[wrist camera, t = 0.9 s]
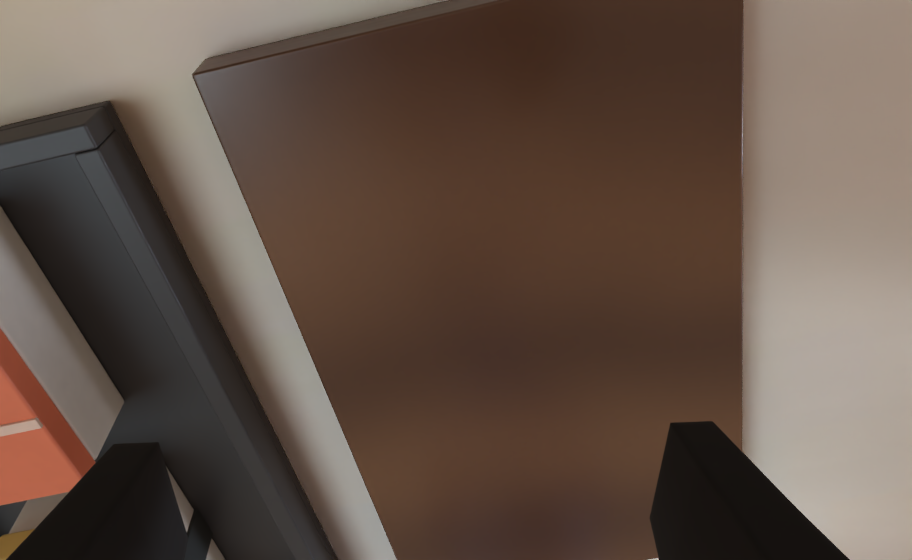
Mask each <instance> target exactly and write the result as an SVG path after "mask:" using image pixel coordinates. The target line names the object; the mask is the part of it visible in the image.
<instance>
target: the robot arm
mask: <svg viewBox="0 0 912 560" xmlns="http://www.w3.org/2000/svg"><path fill="white" fill-rule="evenodd" d="M650 522H651V527H652V531H653V535H654V540H655V544H656V549H657V553H658V557H659V560H849V559H848V558H847V557H846V556H845V555H844V554H843V553H842V552H841V551H840V550H839V549H838V548H837V547H836V546H835V545H834V544H833V543H832V542H831V541H830V540H829V539H828V538H827V537H826V536H825V535H824V534H823V533H822V532H821V531H820V530H818V529H817V528H816V527H815V526H814V525H813V524H812V523H811V522H810V521H809V520H808V519H807V518H806V517H805V516H804V515H803V514H802V513H801V512H800V511H799V510H798V509H797V508H796V507H795V506H794V505H793V504H792V503H791V502H790V501H789V500H788V499H787V498H786V497H785V496H784V495H783V494H782V493H781V492H780V491H779V489H778V488H777V487H776V486H775V485H774V484H773V483H772V482H771V481H770V480H769V479H768V478H767V477H766V476H765V475H764V474H763V473H762V472H761V471H760V470H759V469H758V468H757V467H756V466H755V465H754V464H753V463H752V462H751V460H750V459H749V458H748V457H747V456H746V455H745V454H744V453H743V452H742V451H741V450H740V449H739V448H738V447H737V446H736V445H735V444H734V443H733V442H732V441H731V440H730V439H729V438H728V436H727V435H726V434H725V433H724V432H723V431H722V430H721V429H720V428H719V427H718V426H717V425H716V424H715V423H714V422H713V421H700V422H674V423H670V427H669V431H668V436H667V440H666V445H665V449H664V454H663V459H662V463H661V468H660V472H659V477H658V481H657V486H656V490H655V495H654V499H653V504H652V509H651V513H650ZM187 543H188V535H187V532H186V529H185V526H184V523H183V519H182V516H181V513H180V510H179V506H178V503H177V500H176V497H175V494H174V490H173V487H172V484H171V481H170V478H169V474H168V471H167V468H166V465H165V461H164V458H163V455H162V452H161V449H160V445H159V442H149V443H122V444H113V445H112V446H111V447H110V448H109V449H108V450H107V451H106V452H105V454H104V455H103V456H102V457H101V458H100V459H99V460H98V461H97V462H96V463H95V464H94V465H93V466H92V467H91V468H90V470H89V471H88V472H87V473H86V474H85V475H84V476H83V477H82V478H81V479H80V480H79V482H78V483H77V484H76V485H75V486H74V487H73V488H72V489H71V490H70V491H69V492H68V494H67V495H66V496H65V497H64V498H63V499H62V500H61V501H60V502H59V503H58V504H57V506H56V507H55V508H54V509H53V510H52V511H51V512H50V513H49V514H48V515H47V516H46V517H45V519H44V520H43V521H42V522H41V523H40V524H39V525H38V526H37V527H36V528H35V529H34V530H33V532H32V533H31V534H30V535H29V536H28V537H27V538H26V539H25V540H24V541H23V542H22V543H21V544H20V545H19V546H18V547H17V548H16V549H15V550H14V551H13V552H12V554H11V555H10V556H9V557H8V558H7V559H6V560H184V558H185V553H186V548H187Z"/></svg>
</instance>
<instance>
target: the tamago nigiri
mask: <svg viewBox="0 0 912 560" xmlns="http://www.w3.org/2000/svg"><path fill="white" fill-rule="evenodd" d="M166 468H167V467H166ZM167 471H168V474H169V478H170V481H171V484H172V487H173V490H174V494H175V497H176V500H177V503H178V506H179V510H180V513H181V516H182V519H183V523H184V526H185V529H186V532H187V535H188V543H187V548H186V553H185V558H184V560H225V558H224V557H223V555H222V553H221V552H220V550H219V549H218V547H217V546H216V544H215V542H214V541H213V539H212V536H213V534H212V532H211V530H210V529H209V527H208V526H207V524H206V522H205V521H204V519H203V518H202V516H201V514H200V513H199V511H198V510H197V509H193V508H192V506H191V505H190V503H189V501H188V500H187V498H186V497H185V495H184V494H183V492H182V490H181V489H180V487H179V486H178V484H177V483H176V481H175V479H174V478H173V476H172V475H171V473H170V472H169V470H168V468H167ZM67 494H68V492H66V493H61V494H56V495H51V496H46V497H41V498H36V499H31V500H27V502H26V504H25V505H24V507H23V509H22V511H21V512H20V514H19V516H18V518H17V520H16V521H15V523H14V525H13V527H12V528H11V530H10V532H9V534H5V535H2V536H1V537H0V560H6V559H7V558H8V557H9V556H10V555H11V554H12V552H13V551H14V550H15V549H16V548H17V547H18V546H19V545H20V544H21V543H22V542H23V541H24V540H25V539H26V538H27V537H28V536H29V535H30V534H31V533H32V532H33V530H34V529H35V528H36V527H37V526H38V525H39V524H40V523H41V522H42V521H43V520H44V519H45V517H46V516H47V515H48V514H49V513H50V512H51V511H52V510H53V509H54V508H55V507H56V506H57V504H58V503H59V502H60V501H61V500H62V499H63V498H64V497H65V496H66V495H67Z"/></svg>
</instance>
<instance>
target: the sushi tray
mask: <svg viewBox="0 0 912 560" xmlns="http://www.w3.org/2000/svg"><path fill="white" fill-rule="evenodd" d="M0 206H1V207H2V209H3V210H4V212H5V214H6V215H7V217H8V218H9V220H10V221H11V223H12V225H13V226H14V228H15V229H16V231H17V233H18V234H19V236H20V237H21V239H22V240H23V242H24V244H25V245H26V247H27V248H28V250H29V251H30V253H31V255H32V256H33V258H34V259H35V261H36V262H37V264H38V266H39V267H40V269H41V270H42V272H43V273H44V275H45V277H46V278H47V280H48V281H49V283H50V284H51V286H52V288H53V289H54V291H55V292H56V294H57V295H58V297H59V299H60V300H61V302H62V303H63V305H64V306H65V308H66V310H67V311H68V313H69V314H70V316H71V317H72V319H73V321H74V322H75V324H76V325H77V327H78V329H79V330H80V332H81V333H82V335H83V336H84V338H85V340H86V341H87V343H88V344H89V346H90V347H91V349H92V351H93V352H94V354H95V355H96V357H97V358H98V360H99V362H100V363H101V365H102V366H103V368H104V369H105V371H106V373H107V374H108V376H109V377H110V379H111V380H112V382H113V384H114V385H115V387H116V388H117V390H118V391H119V393H120V395H121V396H122V398H123V399H124V404H123V406H122V408H121V410H120V412H119V414H118V416H117V418H116V420H115V422H114V424H113V426H112V428H111V430H110V432H109V434H108V436H107V438H106V440H105V442H104V444H103V447H102V449H101V451H100V453H99V455H98V457H97V458H96V459H95V462H97V461H98V460H99V459H100V458H101V457H102V456H103V455H104V454H105V452H106V451H107V450H108V449H109V448H110V447H111V446H112V445H113V444H122V443H149V442H159V445H160V449H161V452H162V455H163V458H164V461H165V465H166V467H167V468H168V470H169V472H170V473H171V475H172V476H173V478H174V479H175V481H176V483H177V484H178V486H179V487H180V489H181V490H182V492H183V494H184V495H185V497H186V498H187V500H188V501H189V503H190V505H191V506H192V508H193V509H197V510H198V511H199V513H200V514H201V516H202V518H203V519H204V521H205V522H206V524H207V526H208V527H209V529H210V530H211V532H212V534H213V536H212V539H213V541H214V542H215V544H216V546H217V547H218V549H219V550H220V552H221V553H222V555H223V557H224V558H225V560H338V559H337V557H336V555H335V553H334V551H333V549H332V547H331V545H330V543H329V541H328V539H327V537H326V535H325V533H324V531H323V529H322V527H321V525H320V523H319V521H318V519H317V517H316V515H315V513H314V511H313V509H312V507H311V505H310V503H309V501H308V499H307V497H306V495H305V493H304V491H303V489H302V487H301V485H300V483H299V481H298V479H297V477H296V475H295V473H294V471H293V469H292V467H291V465H290V463H289V461H288V459H287V457H286V455H285V453H284V451H283V449H282V446H281V444H280V442H279V440H278V438H277V436H276V434H275V432H274V430H273V428H272V426H271V424H270V422H269V420H268V418H267V416H266V414H265V412H264V410H263V408H262V406H261V404H260V402H259V400H258V398H257V396H256V394H255V392H254V390H253V388H252V386H251V384H250V382H249V380H248V378H247V376H246V374H245V372H244V370H243V368H242V366H241V364H240V362H239V360H238V358H237V356H236V354H235V352H234V350H233V348H232V346H231V344H230V342H229V340H228V338H227V336H226V334H225V332H224V330H223V328H222V326H221V324H220V322H219V320H218V318H217V316H216V314H215V312H214V310H213V308H212V306H211V304H210V301H209V299H208V297H207V295H206V293H205V291H204V289H203V287H202V285H201V283H200V281H199V279H198V277H197V275H196V273H195V271H194V269H193V267H192V265H191V263H190V261H189V259H188V257H187V255H186V253H185V251H184V249H183V247H182V245H181V243H180V241H179V239H178V237H177V235H176V233H175V231H174V229H173V227H172V225H171V223H170V221H169V219H168V217H167V215H166V213H165V211H164V209H163V207H162V205H161V203H160V201H159V199H158V197H157V195H156V193H155V191H154V189H153V187H152V185H151V183H150V181H149V179H148V177H147V175H146V173H145V171H144V169H143V167H142V165H141V163H140V161H139V159H138V157H137V154H136V152H135V150H134V148H133V146H132V144H131V142H130V140H129V138H128V136H127V134H126V132H125V130H124V128H123V126H122V124H121V122H120V120H119V118H118V116H117V114H116V112H115V110H114V108H113V106H112V104H111V102H110V101H106V102H102V103H97V104H93V105H89V106H85V107H81V108H76V109H72V110H68V111H64V112H60V113H56V114H51V115H47V116H43V117H39V118H35V119H30V120H26V121H22V122H18V123H14V124H9V125H5V126H1V127H0ZM26 502H27V500H26V501H21V502H16V503H11V504H6V505H1V506H0V537H1V536H2V535H5V534H9V532H10V530H11V528H12V527H13V525H14V523H15V521H16V520H17V518H18V516H19V514H20V512H21V511H22V509H23V507H24V505H25V504H26Z"/></svg>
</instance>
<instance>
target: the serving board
mask: <svg viewBox="0 0 912 560" xmlns="http://www.w3.org/2000/svg"><path fill="white" fill-rule="evenodd" d="M192 75H193V79H194V81H195V83H196V86H197V88H198V90H199V93H200V95H201V97H202V100H203V102H204V105H205V107H206V109H207V112H208V114H209V116H210V119H211V121H212V123H213V126H214V128H215V131H216V133H217V135H218V138H219V140H220V142H221V145H222V147H223V149H224V152H225V154H226V157H227V159H228V161H229V164H230V166H231V168H232V171H233V173H234V175H235V178H236V180H237V183H238V185H239V187H240V190H241V192H242V194H243V197H244V199H245V201H246V204H247V206H248V209H249V211H250V213H251V216H252V218H253V220H254V223H255V225H256V227H257V230H258V232H259V235H260V237H261V239H262V242H263V244H264V246H265V249H266V251H267V253H268V256H269V258H270V261H271V263H272V265H273V268H274V270H275V272H276V275H277V277H278V279H279V282H280V284H281V287H282V289H283V291H284V294H285V296H286V298H287V301H288V303H289V305H290V308H291V310H292V313H293V315H294V317H295V320H296V322H297V324H298V327H299V329H300V331H301V334H302V336H303V339H304V341H305V343H306V346H307V348H308V350H309V353H310V355H311V357H312V360H313V362H314V364H315V367H316V369H317V372H318V374H319V376H320V379H321V381H322V383H323V386H324V388H325V390H326V393H327V395H328V398H329V400H330V402H331V405H332V407H333V409H334V412H335V414H336V416H337V419H338V421H339V424H340V426H341V428H342V431H343V433H344V435H345V438H346V440H347V442H348V445H349V447H350V450H351V452H352V454H353V457H354V459H355V461H356V464H357V466H358V468H359V471H360V473H361V476H362V478H363V480H364V483H365V485H366V487H367V490H368V492H369V494H370V497H371V499H372V502H373V504H374V506H375V509H376V511H377V513H378V516H379V518H380V520H381V523H382V525H383V528H384V530H385V532H386V535H387V537H388V539H389V542H390V544H391V546H392V549H393V551H394V554H395V556H396V558H397V560H648V559H653V558H659V557H658V553H657V549H656V544H655V540H654V535H653V531H652V527H651V522H650V513H651V509H652V504H653V499H654V495H655V490H656V486H657V481H658V477H659V472H660V468H661V463H662V459H663V454H664V449H665V445H666V440H667V436H668V431H669V427H670V423H674V422H700V421H713V422H714V423H715V424H716V425H717V426H718V427H719V428H720V429H721V430H722V431H723V432H724V433H725V434H726V435H727V436H728V438H729V439H730V440H731V441H732V442H733V443H734V444H735V445H736V446H737V447H738V448H739V449H740V450H741V451H742V299H743V0H448V1H444V2H440V3H436V4H432V5H428V6H423V7H419V8H415V9H411V10H407V11H403V12H398V13H394V14H390V15H386V16H382V17H378V18H374V19H369V20H365V21H361V22H357V23H353V24H349V25H344V26H340V27H336V28H332V29H328V30H324V31H320V32H315V33H311V34H307V35H303V36H299V37H295V38H291V39H286V40H282V41H278V42H274V43H270V44H266V45H261V46H257V47H253V48H249V49H245V50H241V51H237V52H232V53H228V54H224V55H220V56H216V57H212V58H207V59H205V60H204V61H203V62H202V63H201V65H200V66H199V67H198V68H197V69H196V70H195V72H194V73H193V74H192Z"/></svg>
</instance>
